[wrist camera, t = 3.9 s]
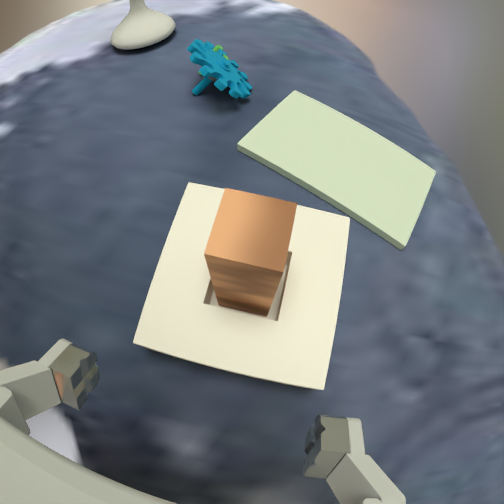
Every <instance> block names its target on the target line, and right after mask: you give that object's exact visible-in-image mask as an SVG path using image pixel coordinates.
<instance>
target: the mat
mask: <svg viewBox="0 0 504 504" xmlns="http://www.w3.org/2000/svg"><path fill="white" fill-rule="evenodd" d="M237 150H238V151H240V152H242V153H244V154H246V155H248V156H249V157H251V158H253V159H255V160H257V161H258V162H260V163H262V164H264V165H266V166H267V167H269V168H271V169H273V170H274V171H276V172H278V173H280V174H281V175H283V176H285V177H286V178H288V179H290V180H292V181H293V182H295V183H297V184H298V185H300V186H302V187H303V188H305V189H307V190H308V191H310V192H312V193H313V194H315V195H317V196H318V197H320V198H322V199H323V200H325V201H326V202H328V203H330V204H331V205H333V206H334V207H336V208H338V209H339V210H341V211H342V212H344V213H346V214H347V215H349V216H350V217H352V218H353V219H355V220H356V221H358V222H360V223H361V224H363V225H364V226H366V227H367V228H369V229H370V230H372V231H373V232H375V233H376V234H378V235H379V236H381V237H382V238H384V239H385V240H387V241H388V242H390V243H391V244H392V245H394V246H395V247H397V248H398V249H400V250H402V249H403V248H404V247H405V246H406V244H407V242H408V239H409V237H410V235H411V233H412V230H413V228H414V226H415V223H416V221H417V219H418V216H419V214H420V211H421V209H422V206H423V204H424V201H425V199H426V196H427V194H428V191H429V189H430V186H431V183H432V181H433V178H434V175H435V172H436V171H434V170H433V169H432V168H430V167H429V166H427V165H426V164H424V163H423V162H421V161H420V160H418V159H417V158H415V157H414V156H412V155H411V154H409V153H408V152H406V151H405V150H403V149H402V148H400V147H398V146H397V145H395V144H394V143H392V142H390V141H389V140H387V139H386V138H384V137H382V136H381V135H379V134H377V133H376V132H374V131H372V130H370V129H369V128H367V127H365V126H363V125H362V124H360V123H358V122H356V121H355V120H353V119H351V118H349V117H347V116H345V115H344V114H342V113H340V112H338V111H336V110H334V109H332V108H330V107H328V106H326V105H324V104H322V103H320V102H318V101H316V100H314V99H312V98H310V97H308V96H306V95H304V94H302V93H300V92H297V91H295V90H294V91H293V92H292V93H291V94H290V95H289V96H288V97H286V98H285V99H284V100H283V101H282V102H281V103H280V104H279V105H278V106H276V107H275V108H274V109H273V110H272V111H271V112H270V113H269V114H268V115H267V116H266V117H265V118H263V119H262V120H261V121H260V122H259V123H258V124H257V125H256V126H255V127H254V128H253V129H252V130H251V131H250V132H249V133H248V134H247V135H246V136H245V137H244V138H242V139H241V140H240V141H239V142H238V143H237Z"/></svg>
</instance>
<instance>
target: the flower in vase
mask: <svg viewBox="0 0 504 504" xmlns="http://www.w3.org/2000/svg"><path fill="white" fill-rule="evenodd" d="M175 26H176V25H175V22H174V21H173V19H172V18H170V17H169V16H167V15H165V14H163V13H160V12H157V11H154V10H152V9H149V8H148V7H147V6H146V5H145V3H144V0H130V11H129V13H128V15H127V16H126V17H125V18H124V19H123V21H122V22H121V23H120V24H119V25H118V26H117V27H116V29H115V30H114V32H113V33H112V36H111V44H112V45H113V46H115V47H116V48H119V49H126V50H128V49H138V48H142V47H146V46H150V45H153V44H155V43H157V42H160V41H162V40H163V39H165V38H167V37H168V36H169V35H170V34H171V33H172V32H173V30H174V28H175Z"/></svg>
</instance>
